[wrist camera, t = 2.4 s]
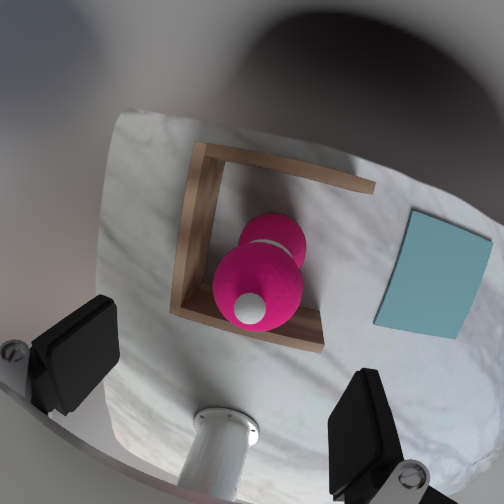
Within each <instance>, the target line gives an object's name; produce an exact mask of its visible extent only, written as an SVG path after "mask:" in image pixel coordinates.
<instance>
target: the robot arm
mask: <svg viewBox="0 0 504 504" xmlns="http://www.w3.org/2000/svg"><path fill="white" fill-rule="evenodd" d="M31 343H32V347H31V348H29V347H28V345H27V344H26V343H25V342H23V341H21V340H16V339H15V340H9V341H6V342H5V343H3V344H2V345H1V346H0V504H241V503H236V502H235V498H236V494H237V490H238V486H239V482H240V478H241V474H242V470H243V466H244V462H245V458H246V453H247V449H248V447H250V446H252V445H254V444H255V443H256V442H257V441H258V438H259V432H260V431H259V428H258V426H257V424H256V423H255V422H254V421H253V420H252V419H250V418H249V417H248V416H246V415H244V414H242V413H240V412H237V411H234V410H231V409H226V408H207V409H204V410H201V411H200V412H198V413H197V415H196V416H195V418H194V421H193V425H194V428H195V430H196V432H197V435H196V438H195V440H194V442H193V445H192V447H191V449H190V452H189V454H188V456H187V459H186V461H185V463H184V466H183V468H182V470H181V473H180V475H179V477H178V480H177V482H176V484H175V485H174V484H171V483H168V482H166V481H163V480H160V479H158V478H155V477H153V476H150V475H148V474H146V473H144V472H141V471H139V470H137V469H135V468H133V467H130V466H128V465H126V464H124V463H122V462H120V461H118V460H116V459H114V458H112V457H111V456H108V455H107V454H105V453H103V452H101V451H100V450H98V449H96V448H94V447H93V446H91V445H89V444H88V443H86V442H84V441H83V440H81V439H80V438H78V437H77V436H75V435H74V434H72V433H70V432H69V431H68V430H66V429H65V428H63V427H62V426H60V425H59V424H58V423H56V422H55V421H53V420H52V411H53V409H54V408H55V409H56V410H57V411H59V412H60V413H61V414H63V415H64V416H66V415H67V414H68V413H69V412H73V411H75V409H76V408H77V407H78V406H79V405H80V404H81V403H82V401H83V400H84V399H85V398H86V397H87V396H88V395H89V394H90V392H91V391H92V390H93V389H94V388H95V387H96V386H97V385H98V384H99V383H100V381H101V380H102V379H103V378H104V377H105V376H106V375H107V374H108V373H109V372H110V370H111V369H112V368H113V367H114V366H115V365H116V364H117V363H118V361H119V358H120V352H119V340H118V325H117V306H116V304H114V301H113V299H111V298H109V297H106V296H104V295H101V294H100V295H98V296H96V297H95V298H93V299H92V300H90V301H89V302H87V303H86V304H84V305H83V306H81V307H80V308H78V309H77V310H76V311H74V312H73V313H71V314H70V315H68V316H67V317H65V318H64V319H62V320H61V321H60V322H59V323H57V324H55V325H54V326H52V327H51V328H50V329H48V330H47V331H46V332H44V333H43V334H41V335H40V336H38V337H37V338H36V339H35V340H33V341H32V342H31ZM328 444H329V492H330V494H331V495H333V501H344V502H345V504H458V503H457V502H455V501H453V500H452V499H450V498H448V497H447V496H445V495H443V494H442V493H440V492H439V491H437V490H436V489H434V488H432V487H431V486H429V482H430V474H429V471H428V469H427V468H426V466H425V465H424V464H422V463H421V462H419V461H417V460H412V459H409V460H404V457H403V453H402V449H401V445H400V441H399V437H398V433H397V430H396V426H395V422H394V419H393V415H392V412H391V409H390V407H389V404H388V401H387V398H386V394H385V391H384V388H383V385H382V382H381V379H380V376H379V373H378V371H377V370H375V369H368V368H362V369H361V370H360V371H356V372H355V374H354V376H353V377H352V379H351V381H350V383H349V385H348V386H347V388H346V390H345V392H344V393H343V395H342V397H341V398H340V400H339V402H338V403H337V405H336V407H335V408H334V410H333V411H332V413H331V415H330V416H329V419H328Z"/></svg>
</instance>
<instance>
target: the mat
mask: <svg viewBox="0 0 504 504" xmlns="http://www.w3.org/2000/svg"><path fill="white" fill-rule="evenodd" d="M492 246H493V243H492V242H490V241H488V240H485V239H483V238H481V237H479V236H476V235H474V234H472V233H470V232H467V231H465V230H462V229H460V228H458V227H455V226H453V225H450V224H448V223H445V222H443V221H440V220H438V219H435V218H432V217H430V216H427V215H424V214H422V213H419V212H416V211H413V210H411V214H410V218H409V222H408V225H407V229H406V233H405V236H404V239H403V243H402V246H401V249H400V253H399V256H398V259H397V262H396V265H395V268H394V271H393V274H392V276H391V279H390V282H389V285H388V287H387V290H386V293H385V295H384V298H383V301H382V303H381V306H380V308H379V311H378V313H377V315H376V318H375V320H374V323H373V324H374V325H377V326H382V327H388V328H393V329H398V330H404V331H409V332H415V333H420V334H426V335H432V336H438V337H445V338H451V339H456V337H457V335H458V333H459V331H460V329H461V327H462V325H463V323H464V321H465V319H466V317H467V314H468V312H469V310H470V308H471V305H472V303H473V301H474V298H475V296H476V293H477V291H478V288H479V285H480V283H481V280H482V277H483V274H484V271H485V269H486V266H487V262H488V259H489V256H490V253H491V249H492Z"/></svg>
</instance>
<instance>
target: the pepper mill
mask: <svg viewBox="0 0 504 504" xmlns="http://www.w3.org/2000/svg"><path fill="white" fill-rule="evenodd" d="M305 254H306V240H305V236H304V233H303V231H302V230H301V228H300V227H299V226H298V224H297V223H296V222H295V221H293V220H292V219H291V218H289V217H287V216H285V215H282V214H277V213H268V214H263V215H260V216H258V217H256V218H254V219H253V220H251V221H250V222H249V223H248V224H247V225H246V227H245V228H244V230H243V232H242V233H241V235H240V239H239V243H238V247H236V248H234V249H233V250H231V251H230V252H229V253H228V254H227V255H226V256H225V257H224V258H223V259H222V261H221V262H220V263H219V265H218V267H217V269H216V272H215V275H214V280H213V294H214V299H215V302H216V304H217V306H218V308H219V310H220V311H221V313H222V314H223V315H224V317H225V318H226V319H227V320H229V321H230V322H231V323H232V324H234V325H235V326H237V327H239V328H242V329H245V330H248V331H256V332H260V331H267V330H271V329H274V328H276V327H279V326H281V325H282V324H284V323H285V322H286V321H288V320H289V319H290V318H291V317H292V316H293V314H294V313H295V312H296V310H297V308H298V306H299V304H300V302H301V298H302V293H303V280H302V275H301V272H300V269H299V268H300V267H301V265H302V263H303V261H304V258H305Z"/></svg>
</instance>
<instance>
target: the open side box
mask: <svg viewBox="0 0 504 504" xmlns="http://www.w3.org/2000/svg"><path fill="white" fill-rule="evenodd" d="M225 161H227V162H232V163H238V164H243V165H248V166H253V167H258V168H263V169H268V170H272V171H277V172H281V173H286V174H290V175H294V176H298V177H302V178H306V179H310V180H314V181H318V182H322V183H326V184H330V185H333V186H337V187H341V188H344V189H348V190H351V191H354V192H360V193H366V194H372V195H373V193H374V188H375V184H376V182H374V181H371V180H367V179H364V178H361V177H358V176H354V175H351V174H348V173H344V172H341V171H337V170H333V169H330V168H326V167H322V166H318V165H314V164H310V163H306V162H302V161H298V160H294V159H289V158H285V157H281V156H276V155H271V154H266V153H261V152H256V151H251V150H246V149H240V148H234V147H228V146H222V145H216V144H209V143H202V142H195V144H194V148H193V153H192V158H191V163H190V168H189V173H188V179H187V184H186V190H185V196H184V202H183V208H182V214H181V220H180V227H179V234H178V241H177V249H176V257H175V265H174V273H173V283H172V293H171V303H170V314H173V315H176V316H179V317H182V318H186V319H189V320H192V321H195V322H198V323H202V324H205V325H208V326H212V327H215V328H218V329H222V330H225V331H229V332H232V333H236V334H240V335H244V336H247V337H251V338H255V339H259V340H263V341H267V342H271V343H275V344H279V345H284V346H288V347H292V348H297V349H302V350H306V351H311V352H316V353H321V352H322V350H323V347H324V345H325V344H324V337H323V330H322V323H321V316H320V312H319V311H315V310H311V309H306V308H302V307H298V308H297V310H296V312H295V313H294V314H293V316H292V317H291V318H290V319H289V320H288V321H286V322H285V323H284V324H282V325H281V326H279V327H276V328H274V329H271V330H267V331H260V332H256V331H248V330H245V329H242V328H239V327H237V326H235V325H234V324H232V323H231V322H230V321H229V320H227V319H226V318H225V317H224V315H223V314H222V313H221V311H220V310H219V308H218V306H217V304H216V302H215V299H214V294H213V285H212V284H209V283H205V282H203V280H204V274H205V268H206V261H207V255H208V249H209V244H210V238H211V232H212V227H213V221H214V216H215V210H216V205H217V200H218V195H219V189H220V184H221V179H222V174H223V170H224V165H225Z"/></svg>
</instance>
